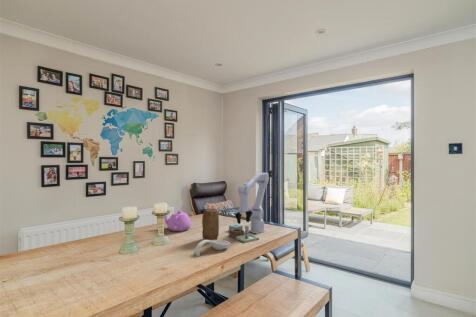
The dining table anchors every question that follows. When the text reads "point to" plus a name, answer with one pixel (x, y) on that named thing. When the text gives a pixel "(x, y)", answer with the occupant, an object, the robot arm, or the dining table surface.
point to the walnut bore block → (236, 232)
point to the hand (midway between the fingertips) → (243, 222)
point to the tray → (251, 238)
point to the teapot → (178, 221)
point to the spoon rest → (214, 243)
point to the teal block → (235, 226)
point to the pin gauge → (246, 232)
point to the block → (210, 224)
